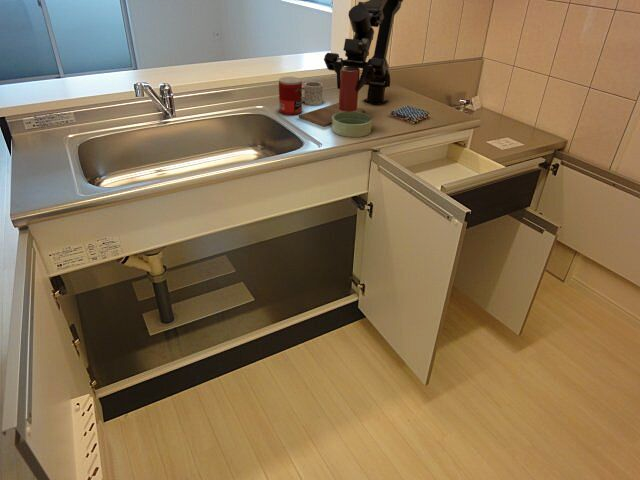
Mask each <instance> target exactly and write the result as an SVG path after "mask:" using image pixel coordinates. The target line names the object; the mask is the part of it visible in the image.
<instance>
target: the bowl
mask: <svg viewBox="0 0 640 480" xmlns="http://www.w3.org/2000/svg"><path fill="white" fill-rule="evenodd" d="M372 124H373V118H372V116H371V115H369V114H368V113H366V112H365V113H362V112H355V111H353V112H345V111H344V112H339V113H336V114H334V115H333V116H332V125H331V131H332V132H333V133H334V134H336V135H338V136H342V137H345V138H346V137H347V138H361V137H365V136H368V135H370V134H371V132H372Z"/></svg>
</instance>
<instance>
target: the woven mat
mask: <svg viewBox="0 0 640 480" xmlns="http://www.w3.org/2000/svg"><path fill="white" fill-rule="evenodd" d="M389 117H391V118H396V119H398V120H401V121H406V122H408V123H410V124H415V123H419V121H421V120H422V121H423V120H424V119H425V120H427V119H428V118H429V117H430V112H428V110H426V111H425V110H424V109H420V108H416V107H413V106H409V105H406V106H405V105H403V106H401V107H399V108H396V109H394V110H391V111H390V113H389Z"/></svg>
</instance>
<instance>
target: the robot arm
mask: <svg viewBox="0 0 640 480" xmlns="http://www.w3.org/2000/svg"><path fill="white" fill-rule="evenodd" d="M402 2H404V0H367V1H358V3H357V4H356V5H354V6H353V7H351V8H350V9H349V11H348V13H347V14H348V19H349V22H350V26H351V30H352V32H353V33H354V35H353V37H352V38H345V39H344V44H343V51H344V52H345V53H344V56H345V58H342V57H341V56H340V55H339V53H336V52H326V53H325V54H324V58H323V61H324V63H325V66H326V68H327V70H329V71H332V72H334V73H335V74H336V88H337V90H340V69H341V68H342V67H356V68H359V69H362V71H361V74H360V76H359V82H358V85H357V89H356V91H357V92H358V93H359V92H360V90H361V89H362V88H363V87H364V86H368V89H367V96H366V98H364V99H363V101H364V102H367V103H370V104H374V105H380V104H383V103H387V102H388V99H385V94H386V92H385V91H386V88H390V86H391V74H390V70H389V69H390V66H389V64H388V59H387V55H388V49H389V46H390V40H391V35H392V29H393V24H394V19H395V15H397V13H398V12H399V10H400V9H401V7H402ZM374 28H378V30H377V35H376V36H377V37H376V42H375V47H374V52H373V56H372V57H371V58H369V59H368V60H367V58H368V57H369V56H370V48H371V45H372V41H373V40H374V35H375V30H374ZM346 57H347V58H346Z"/></svg>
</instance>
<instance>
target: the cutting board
mask: <svg viewBox="0 0 640 480" xmlns="http://www.w3.org/2000/svg"><path fill="white" fill-rule="evenodd" d="M339 112H344V111H341V110H339V102H336V103H333V104H329V105H327V106H324V107H321V108H317V109H315V110H311V111H307V112H304V113H300V114H298V119H299V120H300V119H301V120H303V121H306V122H307V123H308V122H309V123H311V124H314V125H316V126H319V127H322V128H327V127H329V126H332V116H333V115H334V114H336V113H339ZM355 112H362V113H365V114H366V109H363V108H360V107H357V110H356V111H355Z"/></svg>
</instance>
